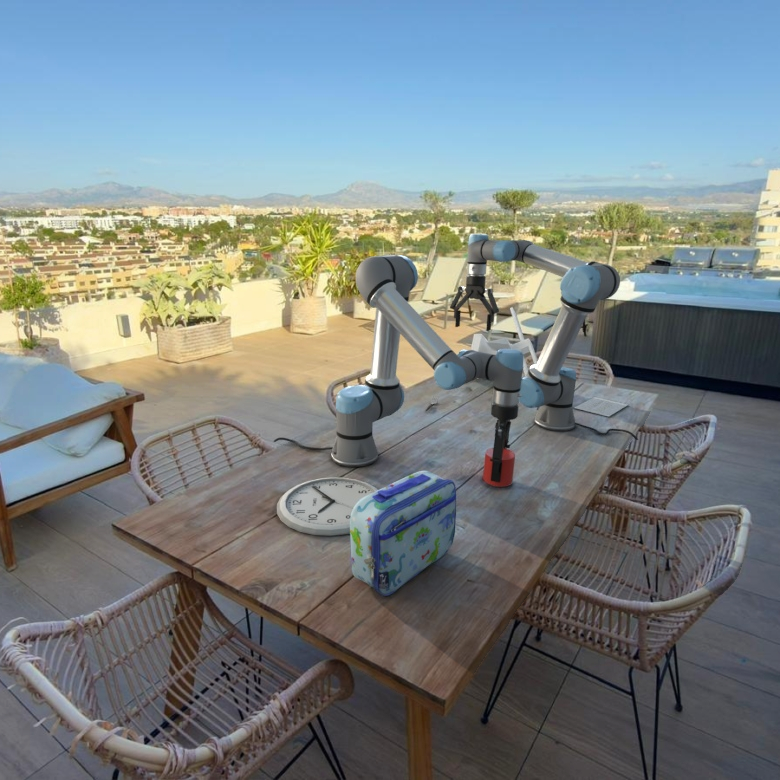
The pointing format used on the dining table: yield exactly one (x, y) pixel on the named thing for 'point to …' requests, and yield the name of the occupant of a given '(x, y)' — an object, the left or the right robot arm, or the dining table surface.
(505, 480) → the canister
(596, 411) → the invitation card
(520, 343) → the white plastic object
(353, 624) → the dining table surface
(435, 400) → the fork
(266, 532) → the dining table surface
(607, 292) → the right robot arm
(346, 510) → the wall clock
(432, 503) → the lunch box
